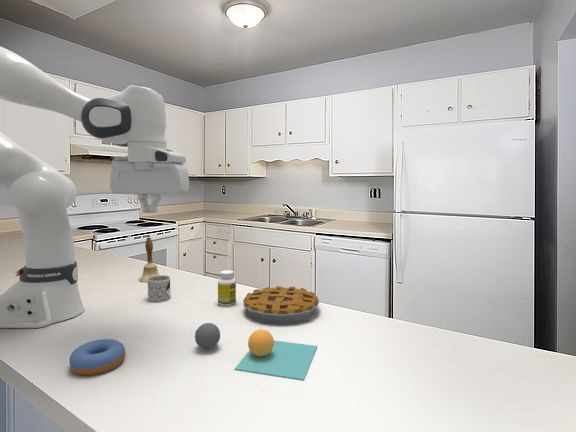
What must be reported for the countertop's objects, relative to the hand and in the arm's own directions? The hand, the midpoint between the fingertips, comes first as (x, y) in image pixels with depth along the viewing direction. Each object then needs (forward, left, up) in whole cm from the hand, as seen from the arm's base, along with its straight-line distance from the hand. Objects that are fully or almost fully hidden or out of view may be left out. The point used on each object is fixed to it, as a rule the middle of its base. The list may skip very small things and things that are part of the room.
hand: (149, 212), depth 87 cm
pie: (+34, +5, -30) cm, 45 cm away
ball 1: (+14, -14, -26) cm, 33 cm away
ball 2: (+25, -20, -26) cm, 41 cm away
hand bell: (-8, +46, -29) cm, 55 cm away
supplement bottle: (+19, +14, -29) cm, 38 cm away
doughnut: (-8, -17, -30) cm, 35 cm away
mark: (+28, -22, -29) cm, 46 cm away
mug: (-2, +24, -29) cm, 38 cm away
